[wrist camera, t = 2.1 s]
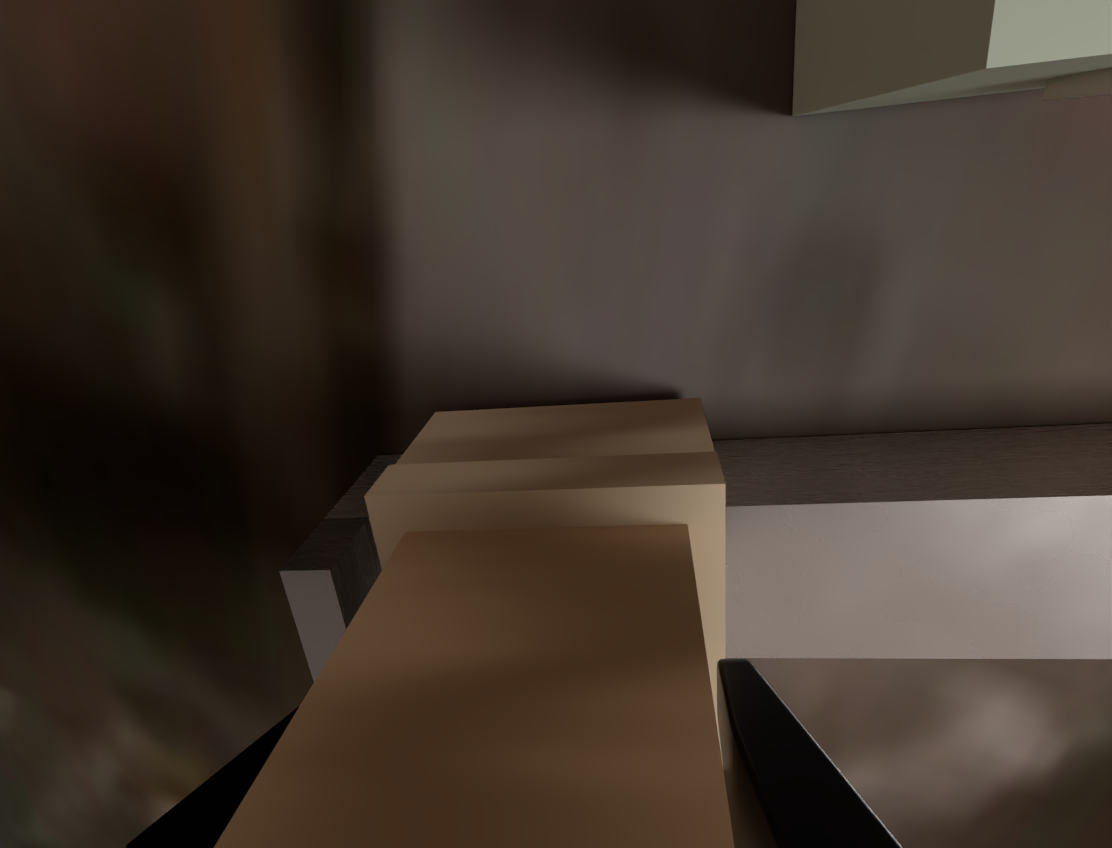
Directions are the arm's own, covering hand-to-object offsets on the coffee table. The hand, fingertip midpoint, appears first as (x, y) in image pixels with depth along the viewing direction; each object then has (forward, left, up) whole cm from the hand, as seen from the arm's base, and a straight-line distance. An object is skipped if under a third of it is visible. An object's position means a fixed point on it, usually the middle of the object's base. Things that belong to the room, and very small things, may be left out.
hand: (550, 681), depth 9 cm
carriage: (0, 0, -5) cm, 5 cm away
